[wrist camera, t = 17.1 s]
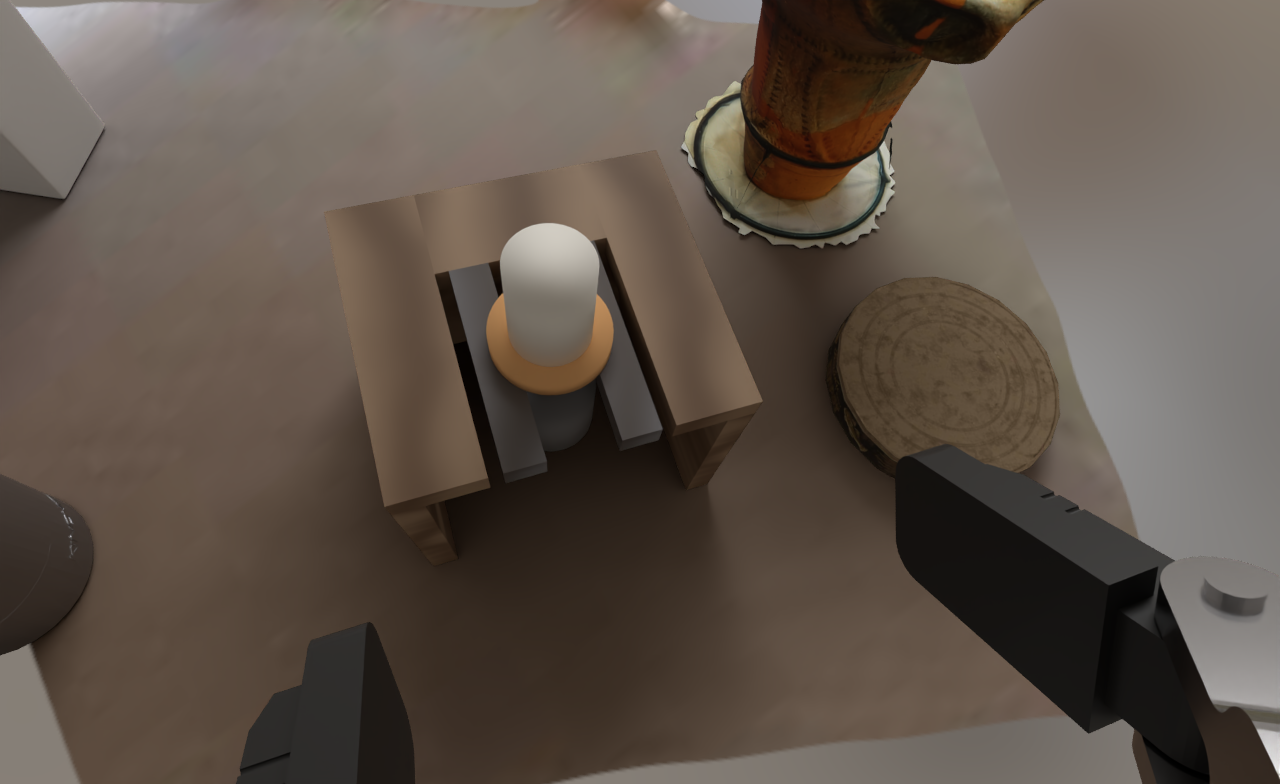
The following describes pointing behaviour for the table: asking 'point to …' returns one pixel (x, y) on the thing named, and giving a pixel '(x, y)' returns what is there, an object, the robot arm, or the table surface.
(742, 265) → the table surface
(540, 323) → the cylinder with orange collar
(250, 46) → the table surface
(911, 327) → the wood slice
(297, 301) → the table surface
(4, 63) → the milk carton
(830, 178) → the decorative vase
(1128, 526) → the table surface
